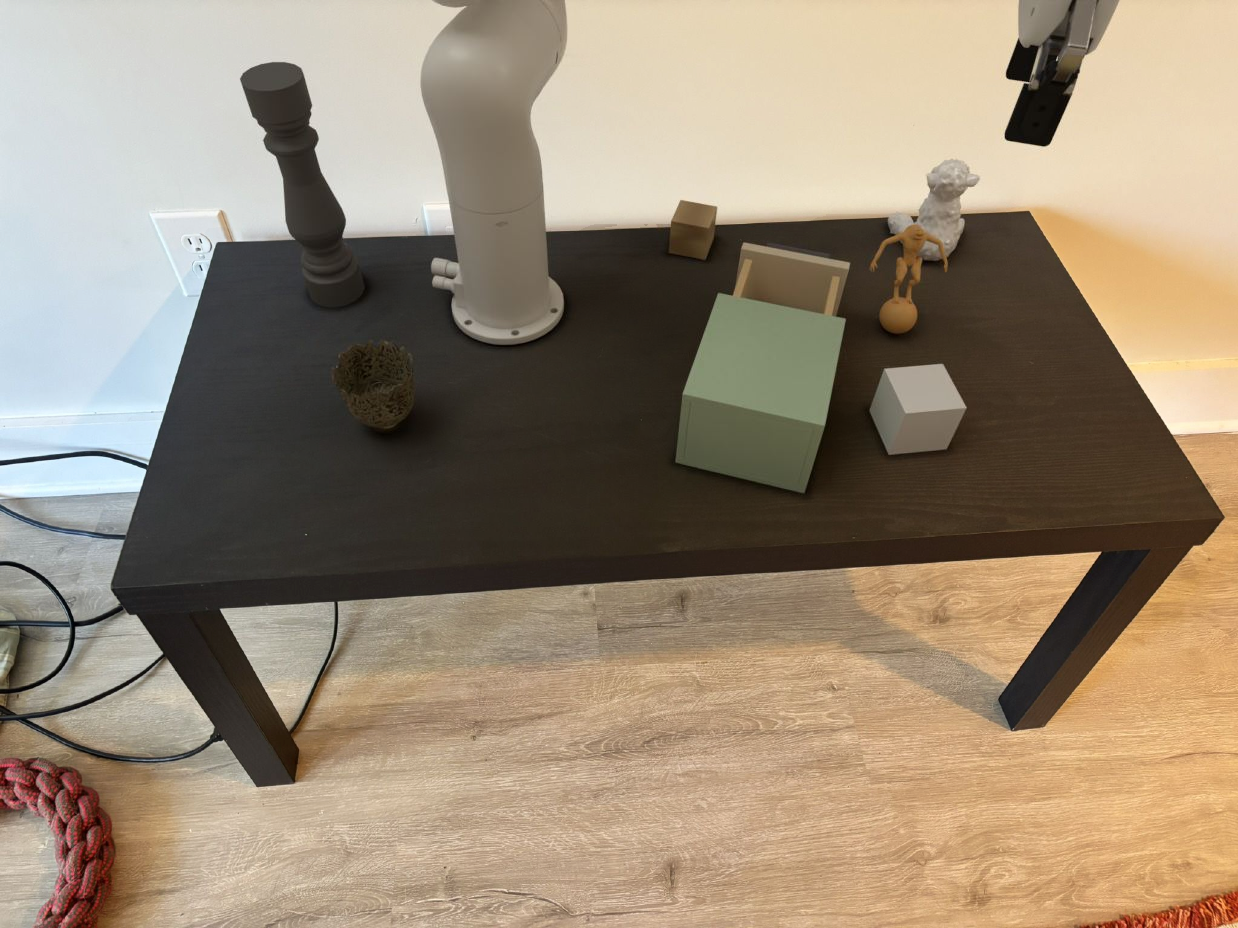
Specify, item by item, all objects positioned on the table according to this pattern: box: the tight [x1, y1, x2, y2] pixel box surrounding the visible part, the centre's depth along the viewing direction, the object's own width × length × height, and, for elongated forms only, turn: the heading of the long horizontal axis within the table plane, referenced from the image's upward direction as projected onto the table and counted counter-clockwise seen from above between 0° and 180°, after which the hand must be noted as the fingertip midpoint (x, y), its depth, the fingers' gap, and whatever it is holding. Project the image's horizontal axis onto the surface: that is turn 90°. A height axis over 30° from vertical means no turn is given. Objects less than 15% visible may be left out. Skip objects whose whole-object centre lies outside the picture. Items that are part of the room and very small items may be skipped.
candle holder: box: [239, 61, 366, 308], centre depth 88 cm, size 6×6×25 cm
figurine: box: [869, 225, 949, 335], centre depth 91 cm, size 8×6×12 cm
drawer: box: [732, 242, 851, 317], centre depth 90 cm, size 18×11×8 cm, turn 163°
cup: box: [330, 339, 416, 435], centre depth 82 cm, size 8×7×8 cm
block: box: [668, 199, 718, 261], centre depth 102 cm, size 5×5×5 cm
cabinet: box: [675, 292, 847, 494], centre depth 82 cm, size 15×13×10 cm
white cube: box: [869, 363, 967, 456], centre depth 83 cm, size 6×6×6 cm
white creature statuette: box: [887, 158, 981, 262], centre depth 100 cm, size 10×9×12 cm
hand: (1025, 109), depth 64 cm, fingers open, 9 cm apart
